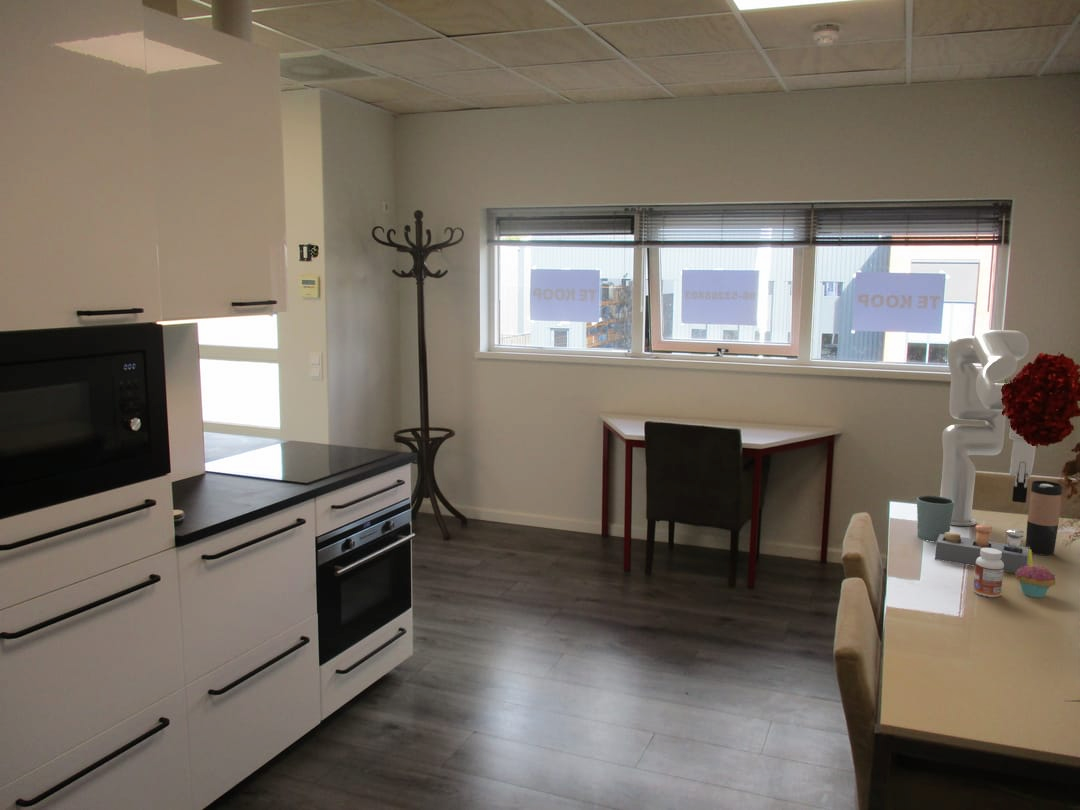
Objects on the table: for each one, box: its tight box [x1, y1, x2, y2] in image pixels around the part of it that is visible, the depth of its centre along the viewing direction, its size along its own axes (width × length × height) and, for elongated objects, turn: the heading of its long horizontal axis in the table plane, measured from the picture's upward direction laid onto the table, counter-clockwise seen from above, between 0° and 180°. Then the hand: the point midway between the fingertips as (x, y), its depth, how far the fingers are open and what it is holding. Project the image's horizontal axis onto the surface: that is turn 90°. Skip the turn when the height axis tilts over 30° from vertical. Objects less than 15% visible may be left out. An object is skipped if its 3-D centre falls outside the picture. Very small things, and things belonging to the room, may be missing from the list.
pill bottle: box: [972, 548, 1004, 598], centre depth 208 cm, size 6×6×11 cm
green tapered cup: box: [916, 494, 954, 543], centre depth 252 cm, size 10×10×12 cm
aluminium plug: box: [1005, 528, 1024, 553], centre depth 227 cm, size 4×4×6 cm
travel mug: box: [1025, 480, 1063, 556], centre depth 241 cm, size 8×8×20 cm
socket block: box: [934, 534, 1029, 574], centre depth 231 cm, size 9×22×5 cm, turn 59°
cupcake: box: [1015, 547, 1057, 599], centre depth 208 cm, size 9×8×12 cm
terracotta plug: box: [974, 523, 993, 548], centre depth 231 cm, size 4×4×6 cm
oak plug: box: [944, 531, 961, 543], centre depth 235 cm, size 4×4×6 cm
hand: (1019, 501), depth 225 cm, fingers closed
